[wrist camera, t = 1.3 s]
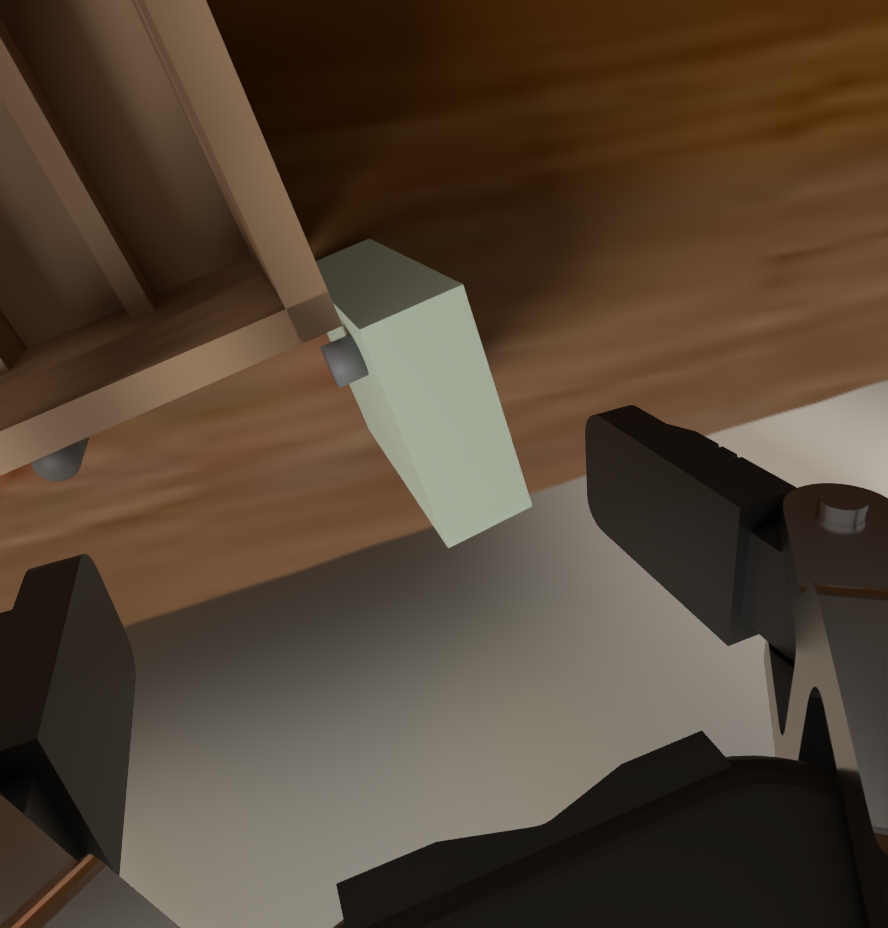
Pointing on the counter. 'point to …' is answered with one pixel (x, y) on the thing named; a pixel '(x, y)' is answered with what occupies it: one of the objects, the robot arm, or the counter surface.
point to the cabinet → (133, 223)
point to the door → (423, 386)
